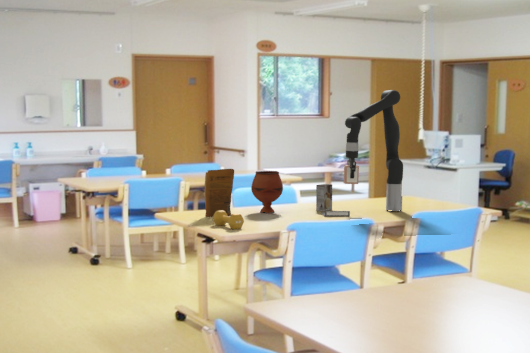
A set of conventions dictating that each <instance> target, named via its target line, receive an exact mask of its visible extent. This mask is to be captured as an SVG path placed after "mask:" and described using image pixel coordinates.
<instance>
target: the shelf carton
mask: <svg viewBox="0 0 530 353" xmlns="http://www.w3.org/2000/svg"><path fill="white" fill-rule="evenodd" d="M352 169H353V168H352ZM359 174H360V165H357V164H356V171H355V172H354V178H350V166H349V165H347V164H344V166H343V184H345V185H359V176H360V175H359Z"/></svg>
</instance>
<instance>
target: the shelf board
mask: <svg viewBox="0 0 530 353" xmlns="http://www.w3.org/2000/svg"><path fill="white" fill-rule="evenodd" d="M350 214H351V211H350V210H327V211H321V215H322V216H323V217H350Z"/></svg>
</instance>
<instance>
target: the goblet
mask: <svg viewBox="0 0 530 353" xmlns="http://www.w3.org/2000/svg"><path fill="white" fill-rule="evenodd" d="M283 190H284V186H283V181H282V178H281V175H280V172H279V171H277V170H259V171H258V170H257V171H255V175H254V177H253V179H252V181H251V193H252V195H253V196H254V198H255V199H257V200H258V201H259V202H261V203H262V206H263V207H261V209H260V210H259V213H261V212H265V213H264V214H272V213H271V212H274V213H275V209H273V207H272V203H273V202H275V201H276V200H278V199H279V198H280V197H281V195H282V194H283Z"/></svg>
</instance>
